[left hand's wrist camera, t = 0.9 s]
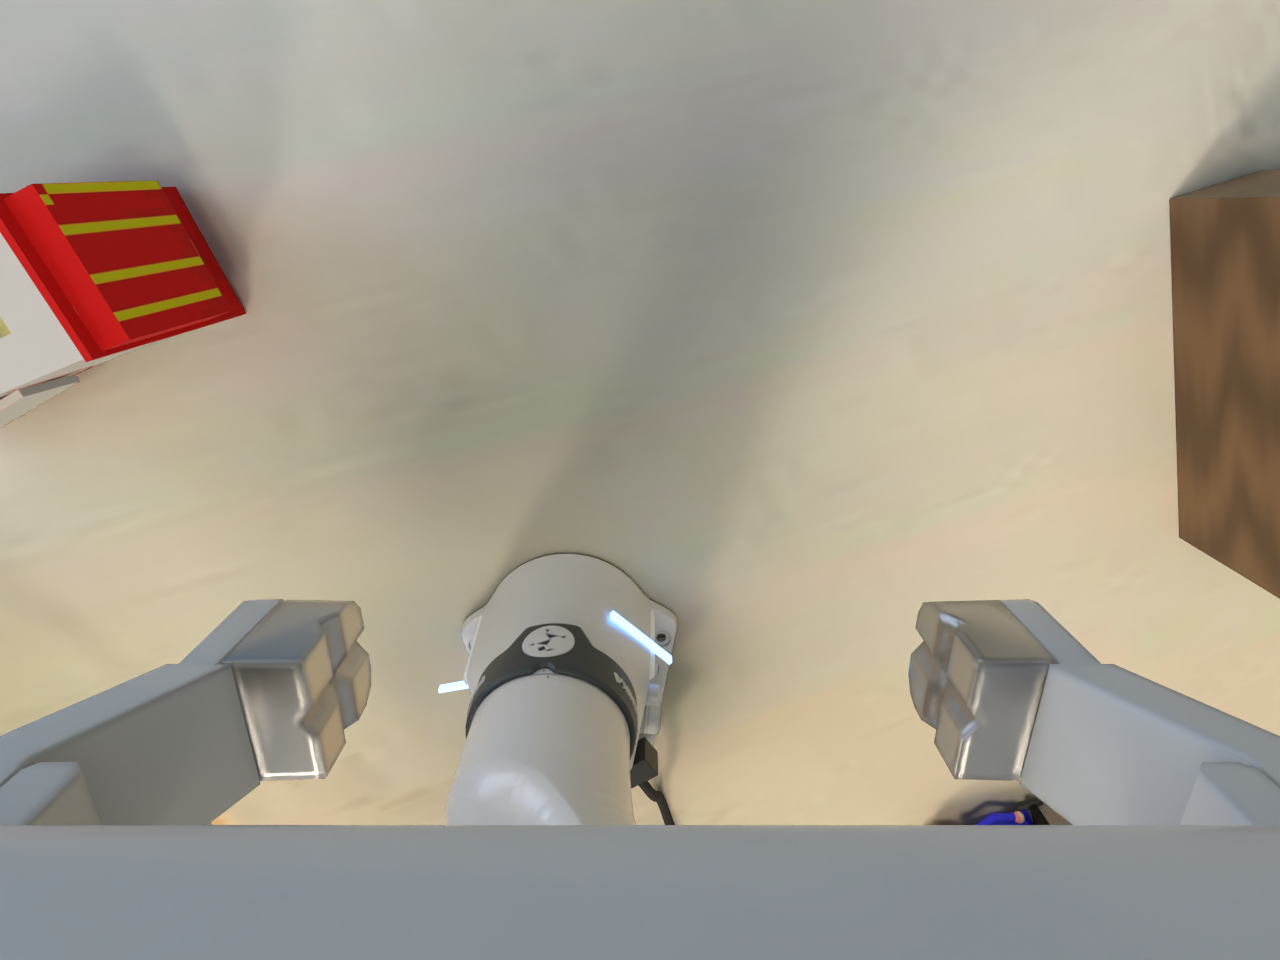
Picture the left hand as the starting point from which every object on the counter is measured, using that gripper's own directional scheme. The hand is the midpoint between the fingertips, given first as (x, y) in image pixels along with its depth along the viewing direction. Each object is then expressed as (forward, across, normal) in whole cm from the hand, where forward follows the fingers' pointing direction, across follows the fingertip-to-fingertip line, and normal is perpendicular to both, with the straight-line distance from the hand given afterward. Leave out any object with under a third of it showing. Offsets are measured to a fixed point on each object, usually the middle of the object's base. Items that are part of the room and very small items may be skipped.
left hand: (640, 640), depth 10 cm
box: (+44, +44, -5) cm, 62 cm away
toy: (+44, -43, -2) cm, 61 cm away
